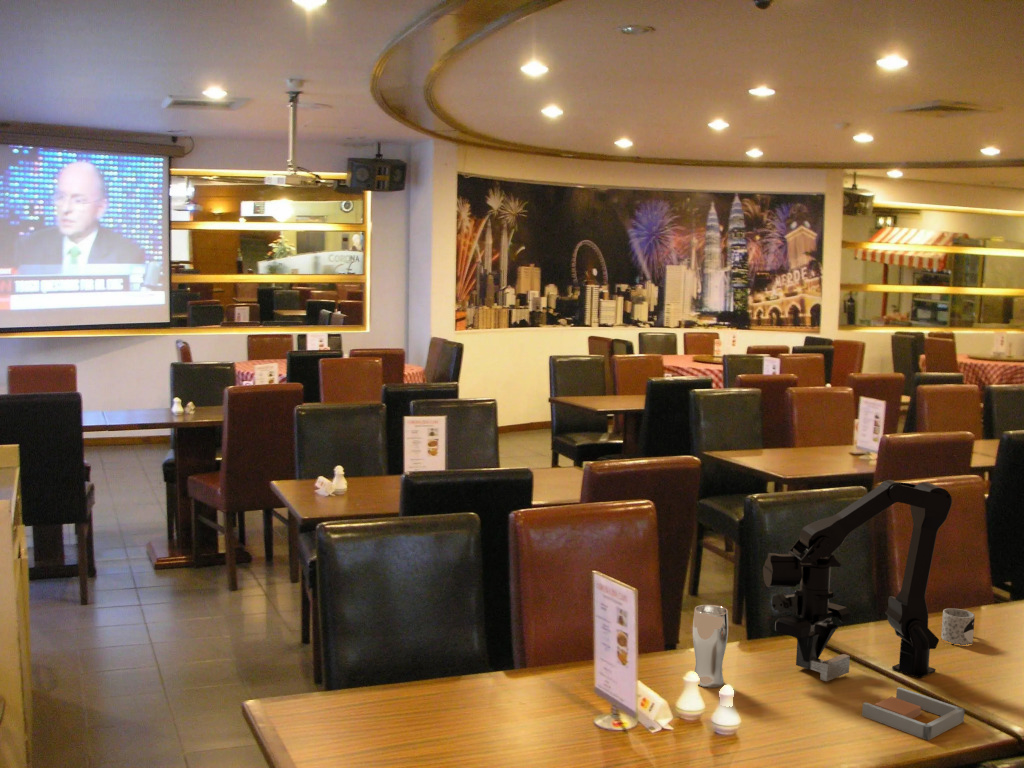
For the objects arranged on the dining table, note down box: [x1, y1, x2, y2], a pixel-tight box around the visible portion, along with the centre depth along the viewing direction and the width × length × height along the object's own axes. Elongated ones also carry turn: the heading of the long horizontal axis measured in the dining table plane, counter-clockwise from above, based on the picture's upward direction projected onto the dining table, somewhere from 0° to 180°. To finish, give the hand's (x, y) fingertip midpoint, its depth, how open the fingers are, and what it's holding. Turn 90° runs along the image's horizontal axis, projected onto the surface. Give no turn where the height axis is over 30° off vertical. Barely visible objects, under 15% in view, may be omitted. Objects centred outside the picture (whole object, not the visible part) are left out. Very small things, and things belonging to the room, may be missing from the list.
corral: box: [861, 687, 966, 741], centre depth 192 cm, size 13×13×2 cm
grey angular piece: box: [795, 639, 851, 682], centre depth 213 cm, size 8×9×6 cm
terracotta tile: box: [874, 696, 922, 719], centre depth 194 cm, size 6×6×2 cm
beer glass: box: [692, 604, 729, 689], centre depth 207 cm, size 7×7×15 cm
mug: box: [940, 608, 976, 645], centre depth 236 cm, size 10×7×7 cm, turn 147°
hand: (811, 659), depth 214 cm, fingers closed on grey angular piece, 3 cm apart
